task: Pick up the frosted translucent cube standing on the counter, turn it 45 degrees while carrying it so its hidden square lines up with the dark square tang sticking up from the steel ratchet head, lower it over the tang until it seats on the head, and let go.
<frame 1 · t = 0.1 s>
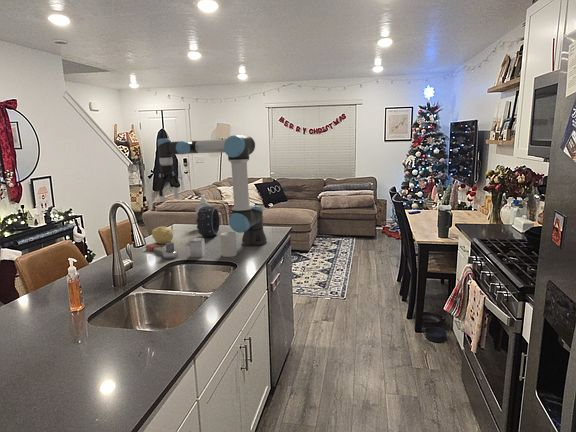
hand: (169, 199, 236), 28 cm above the worktop, fingers open, 13 cm apart
sculpture: (163, 243, 246), on the worktop
frosted translucent cube: (198, 255, 215), on the worktop
ring: (209, 236, 259), on the worktop
soap bottle: (206, 228, 284), on the worktop
ratchet: (170, 257, 213), on the worktop
cup: (229, 255, 214), on the worktop
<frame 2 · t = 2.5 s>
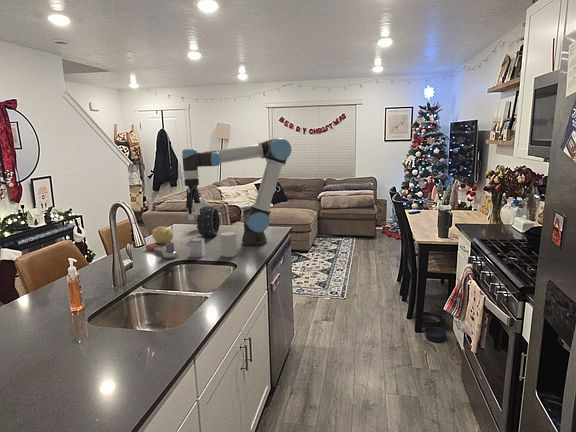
hand: (194, 217, 211), 22 cm above the worktop, fingers open, 13 cm apart
nothing on the worktop moved.
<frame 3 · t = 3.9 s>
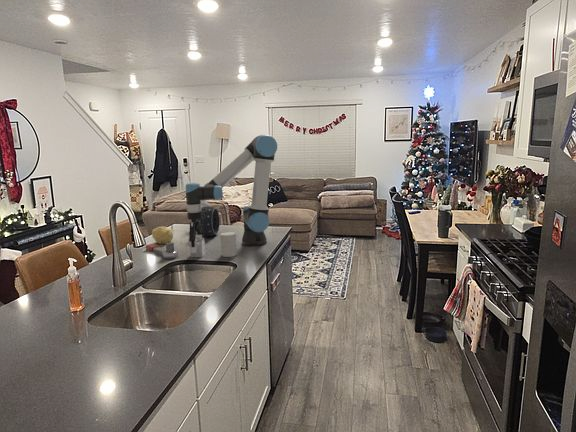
hand: (197, 249, 214), 3 cm above the worktop, fingers open, 13 cm apart
nothing on the worktop moved.
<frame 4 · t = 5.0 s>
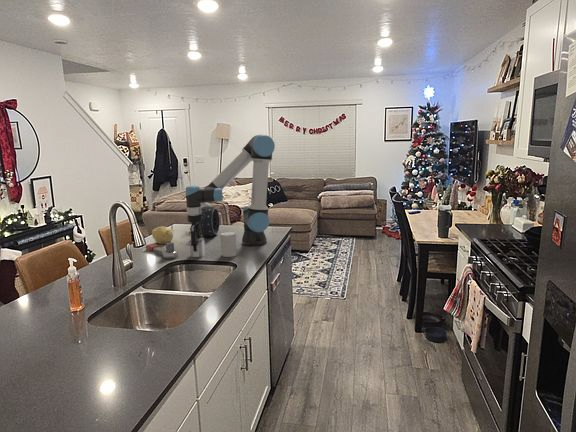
hand: (197, 254, 215), 0 cm above the worktop, fingers closed on frosted translucent cube, 7 cm apart
frosted translucent cube: (198, 255, 215), on the worktop, touching gripper
everything else where it was.
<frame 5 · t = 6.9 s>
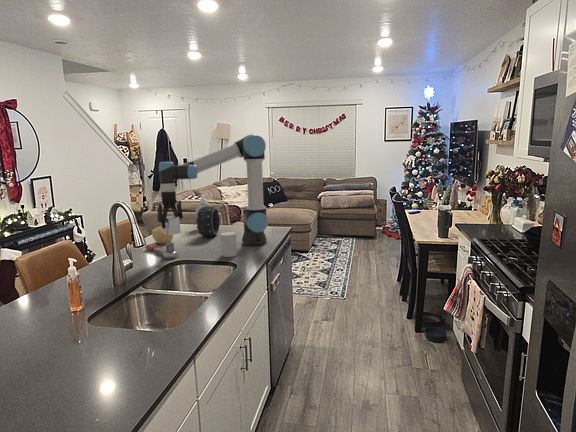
hand: (171, 232, 211), 14 cm above the worktop, fingers closed on frosted translucent cube, 7 cm apart
frosted translucent cube: (172, 233, 211), point 14 cm above the worktop, touching gripper
everything else where it was.
when the fingers open (5 cm above the worktop, at t = 8.8 s): frosted translucent cube drops 2 cm, resting on ratchet.
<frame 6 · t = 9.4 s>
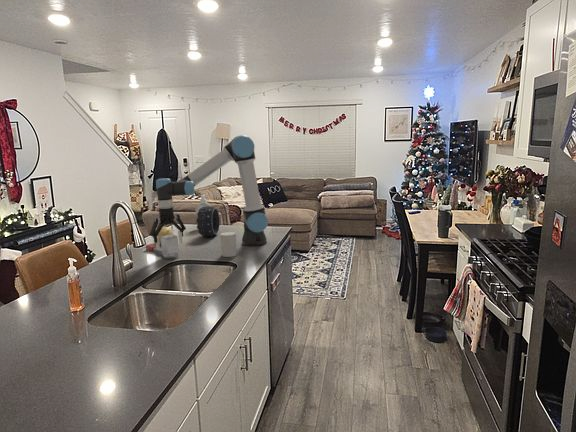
hand: (169, 245, 212), 7 cm above the worktop, fingers open, 13 cm apart
frosted translucent cube: (170, 252, 212), point 3 cm above the worktop, touching ratchet
everything else where it was.
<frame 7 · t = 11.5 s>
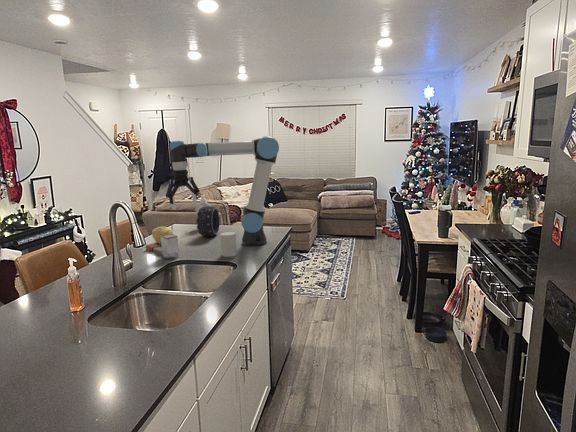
hand: (184, 207, 216), 26 cm above the worktop, fingers open, 13 cm apart
nothing on the worktop moved.
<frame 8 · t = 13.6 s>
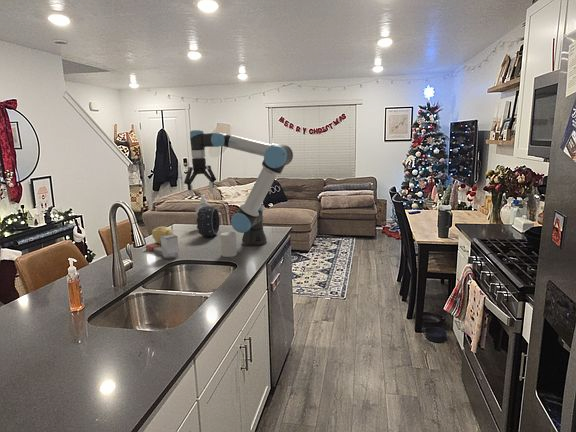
hand: (201, 194, 225), 32 cm above the worktop, fingers open, 13 cm apart
nothing on the worktop moved.
at the end: frosted translucent cube 0.2 cm off-centre on the ratchet, point 3.0 cm above the ratchet's base; frosted translucent cube tilted 0°; the gripper is holding nothing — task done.
